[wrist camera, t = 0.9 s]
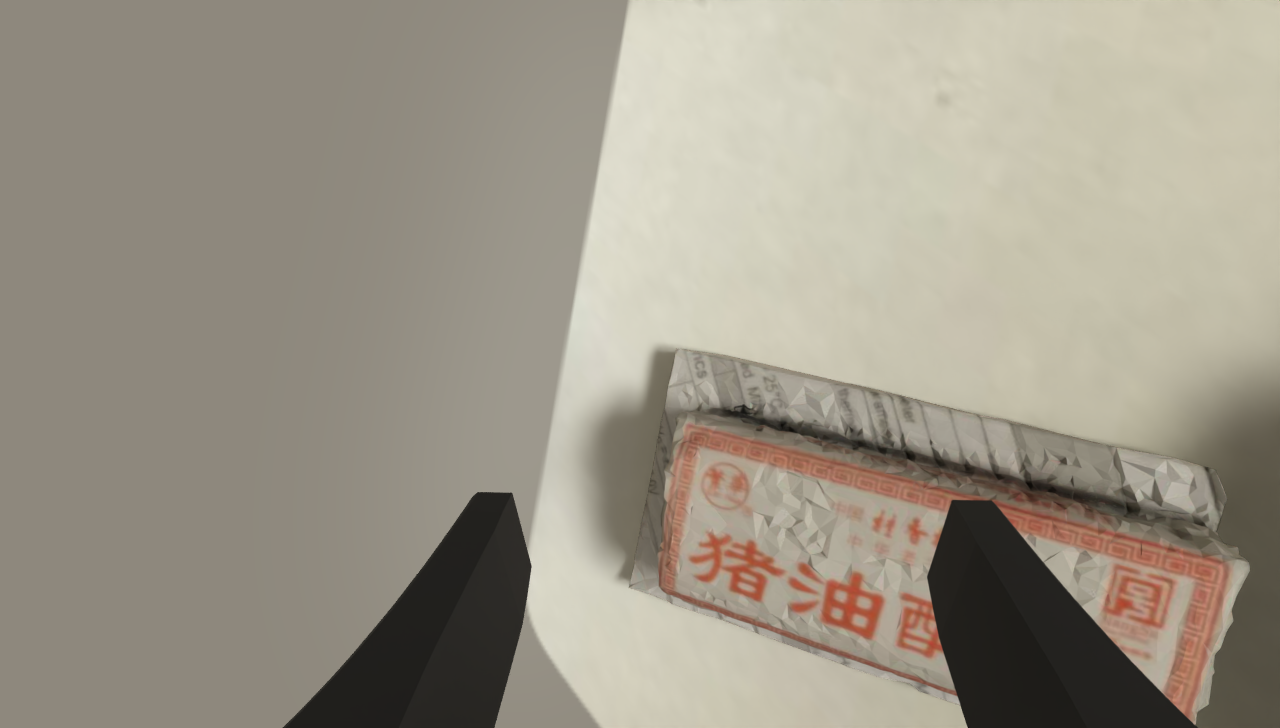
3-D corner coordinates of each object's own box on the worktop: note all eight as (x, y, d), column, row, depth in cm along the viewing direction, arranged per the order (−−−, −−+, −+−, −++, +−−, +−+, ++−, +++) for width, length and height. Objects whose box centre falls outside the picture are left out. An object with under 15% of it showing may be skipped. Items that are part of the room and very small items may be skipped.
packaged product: (1306, 494, 17) (1197, 854, 18) (1217, 463, 22) (1134, 753, 23) (645, 344, 23) (588, 622, 24) (684, 345, 28) (635, 578, 28)
